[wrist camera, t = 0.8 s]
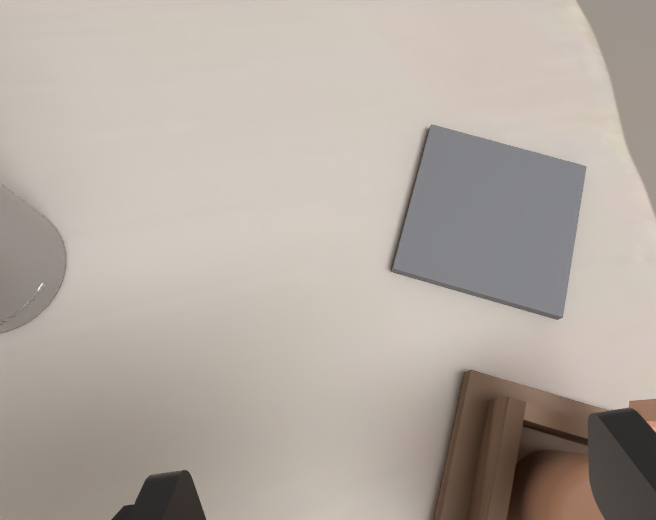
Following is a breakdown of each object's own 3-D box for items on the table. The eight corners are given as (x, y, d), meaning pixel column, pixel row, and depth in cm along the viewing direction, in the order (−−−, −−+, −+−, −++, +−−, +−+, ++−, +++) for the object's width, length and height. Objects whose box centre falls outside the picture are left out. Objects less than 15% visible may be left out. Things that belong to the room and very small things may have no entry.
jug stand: (420, 584, 31) (439, 612, 27) (464, 372, 35) (488, 363, 31) (635, 653, 31) (695, 695, 26) (656, 429, 35) (712, 429, 30)
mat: (391, 271, 37) (392, 268, 36) (429, 129, 41) (431, 124, 40) (557, 319, 37) (562, 317, 36) (581, 171, 40) (586, 166, 39)
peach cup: (600, 581, 30) (891, 737, 15) (492, 547, 31) (671, 665, 16) (619, 423, 33) (881, 421, 18) (519, 394, 33) (693, 367, 18)
